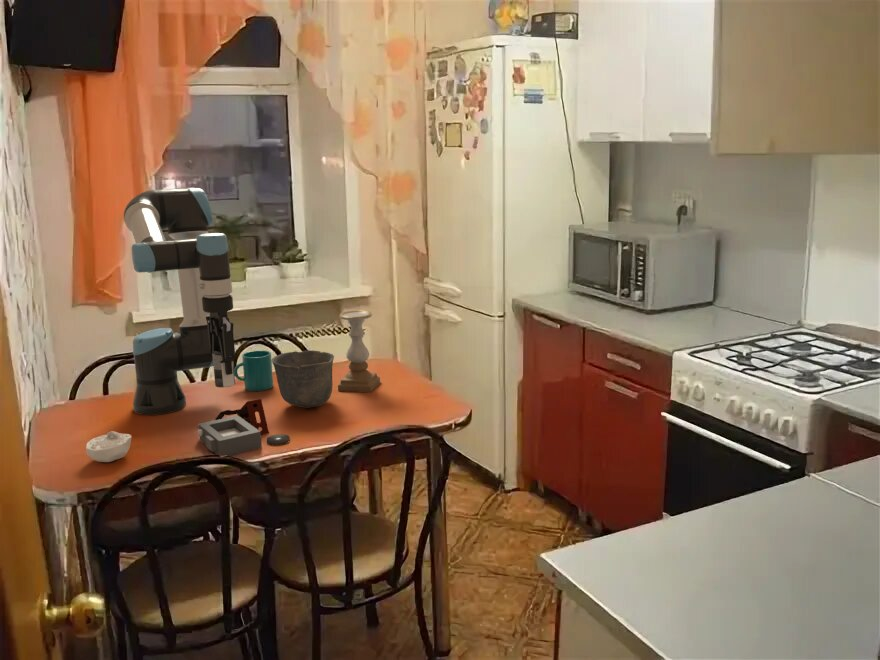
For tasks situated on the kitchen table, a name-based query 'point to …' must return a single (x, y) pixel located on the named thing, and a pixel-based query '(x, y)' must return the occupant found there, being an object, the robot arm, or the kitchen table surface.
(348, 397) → the kitchen table surface
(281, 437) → the lens cap
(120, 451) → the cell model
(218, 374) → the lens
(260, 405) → the bracket
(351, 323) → the candle holder
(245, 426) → the grey square tray
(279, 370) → the bowl
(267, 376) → the cup
